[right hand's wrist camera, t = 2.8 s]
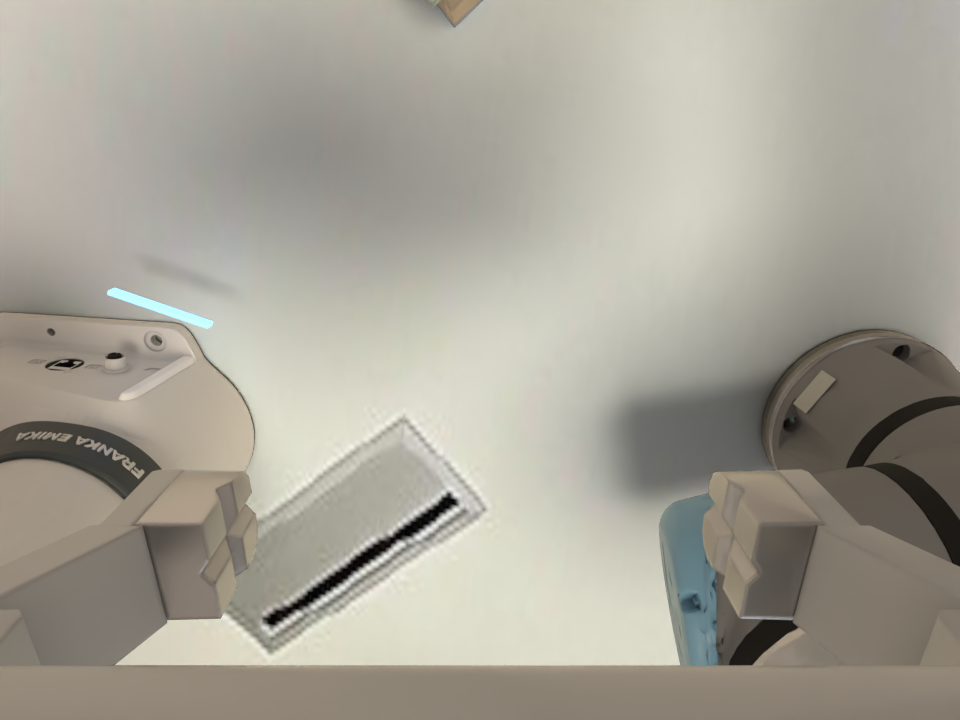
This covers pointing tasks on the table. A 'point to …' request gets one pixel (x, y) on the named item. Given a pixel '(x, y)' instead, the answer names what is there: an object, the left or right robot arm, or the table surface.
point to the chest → (457, 9)
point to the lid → (434, 2)
